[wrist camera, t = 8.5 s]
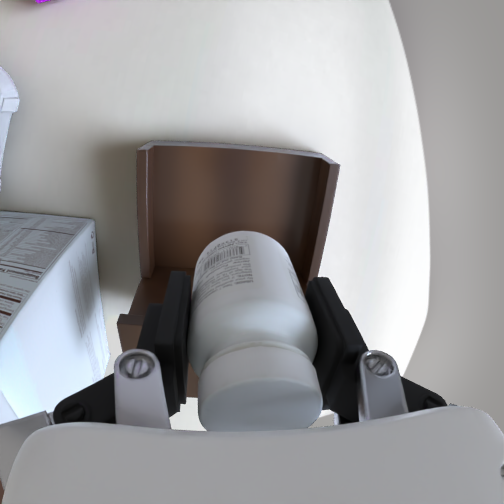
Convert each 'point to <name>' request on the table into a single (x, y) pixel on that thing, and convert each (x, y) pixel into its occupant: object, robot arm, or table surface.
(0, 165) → the game controller
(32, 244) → the supplement box
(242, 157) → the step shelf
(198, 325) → the pill bottle
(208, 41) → the table surface
